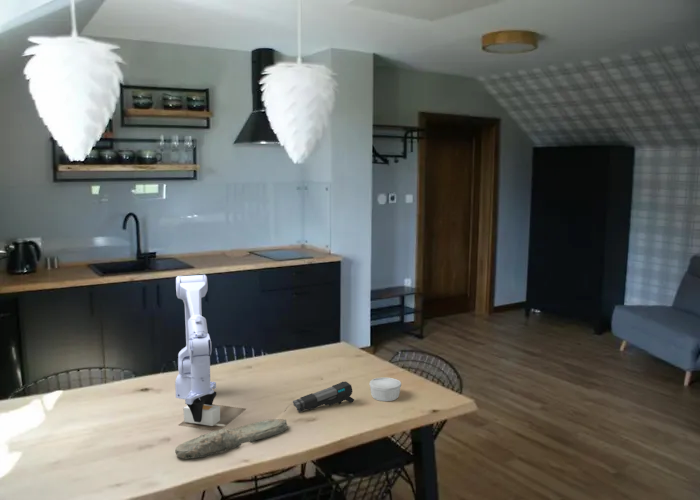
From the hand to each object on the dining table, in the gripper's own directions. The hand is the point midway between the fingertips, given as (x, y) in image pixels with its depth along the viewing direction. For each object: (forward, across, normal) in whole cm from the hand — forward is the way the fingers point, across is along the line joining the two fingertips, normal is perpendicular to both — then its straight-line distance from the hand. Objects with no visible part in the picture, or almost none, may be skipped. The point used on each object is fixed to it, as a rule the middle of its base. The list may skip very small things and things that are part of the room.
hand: (202, 418), depth 185 cm
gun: (+3, +26, -31) cm, 40 cm away
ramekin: (+3, +41, -48) cm, 63 cm away
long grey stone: (+3, -7, -15) cm, 17 cm away
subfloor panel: (+2, +5, -1) cm, 6 cm away
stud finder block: (+1, 0, 0) cm, 1 cm away
